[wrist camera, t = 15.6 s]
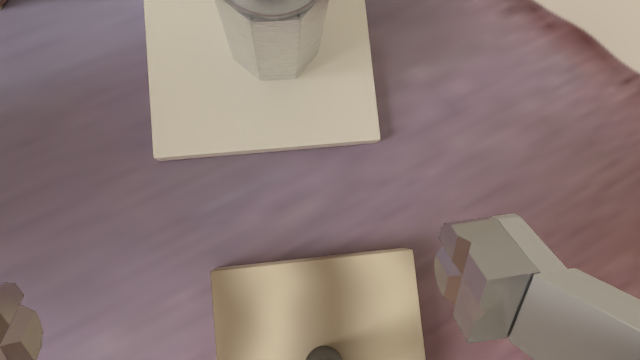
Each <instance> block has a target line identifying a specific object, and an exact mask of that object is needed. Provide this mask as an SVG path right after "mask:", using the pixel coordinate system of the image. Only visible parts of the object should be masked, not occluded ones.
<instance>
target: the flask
mask: <svg viewBox="0 0 640 360" xmlns="http://www.w3.org/2000/svg"><path fill="white" fill-rule="evenodd" d="M6 2H7V0H0V9H2V8H3V6H4V4H5V3H6Z"/></svg>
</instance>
